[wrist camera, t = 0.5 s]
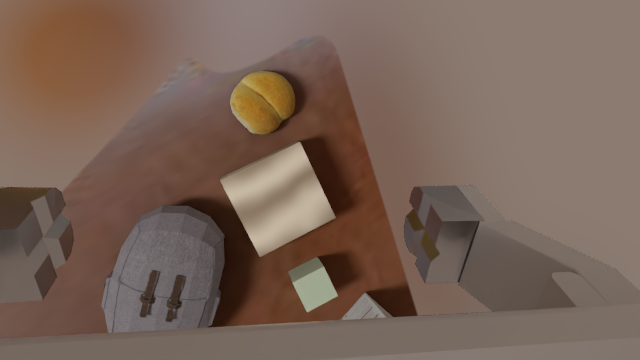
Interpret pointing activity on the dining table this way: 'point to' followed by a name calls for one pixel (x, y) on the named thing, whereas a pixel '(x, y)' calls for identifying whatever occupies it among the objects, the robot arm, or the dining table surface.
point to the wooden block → (278, 198)
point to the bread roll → (262, 101)
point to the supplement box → (366, 309)
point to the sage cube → (312, 284)
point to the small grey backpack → (166, 273)
